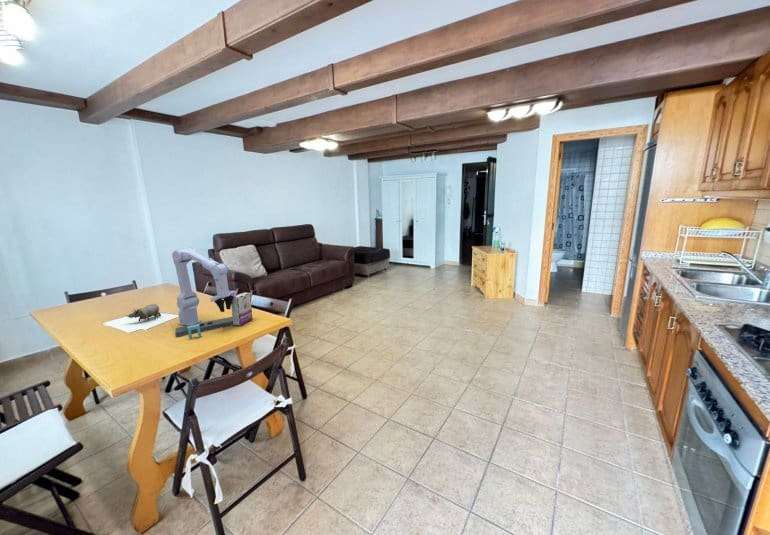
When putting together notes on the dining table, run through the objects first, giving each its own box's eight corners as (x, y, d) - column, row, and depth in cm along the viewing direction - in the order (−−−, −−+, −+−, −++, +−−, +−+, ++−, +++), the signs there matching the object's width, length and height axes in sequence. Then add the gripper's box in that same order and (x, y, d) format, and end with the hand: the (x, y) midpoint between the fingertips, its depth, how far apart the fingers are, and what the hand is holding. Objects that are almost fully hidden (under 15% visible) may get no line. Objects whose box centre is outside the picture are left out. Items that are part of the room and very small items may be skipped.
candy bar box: (245, 319, 179) (243, 292, 176) (252, 319, 178) (251, 292, 175) (232, 325, 168) (230, 296, 166) (240, 325, 167) (238, 297, 165)
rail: (175, 337, 155) (175, 332, 155) (176, 332, 162) (175, 327, 161) (235, 324, 170) (234, 320, 170) (233, 320, 177) (232, 316, 176)
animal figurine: (170, 312, 186) (149, 297, 176) (151, 331, 178) (128, 316, 169) (165, 311, 190) (144, 296, 181) (146, 329, 182) (124, 314, 173)
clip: (189, 339, 152) (187, 328, 151) (189, 338, 154) (187, 326, 153) (201, 337, 155) (199, 325, 153) (201, 335, 157) (199, 324, 155)
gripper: (216, 290, 153) (220, 315, 155) (238, 283, 166) (241, 306, 169) (205, 289, 155) (209, 314, 158) (228, 282, 168) (232, 305, 171)
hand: (225, 310), depth 163 cm, fingers open, 4 cm apart
